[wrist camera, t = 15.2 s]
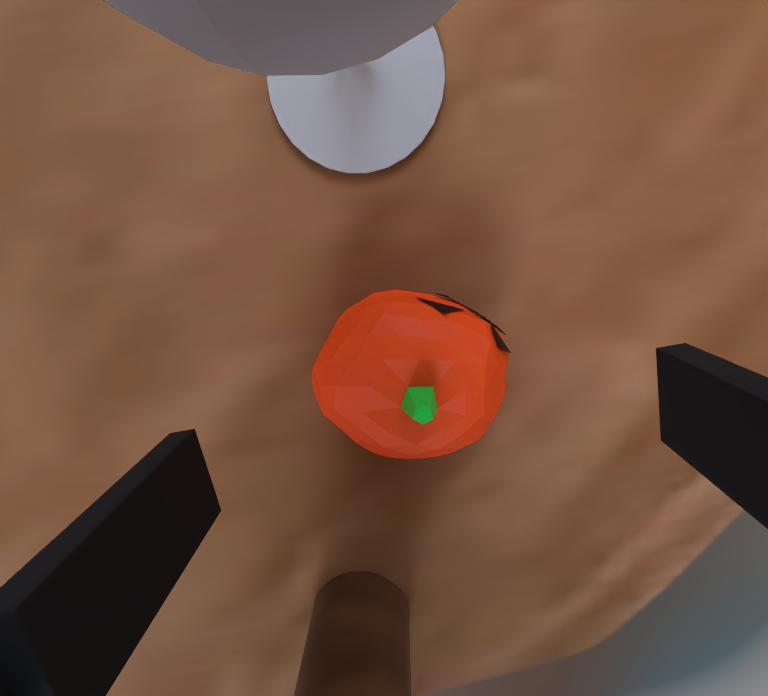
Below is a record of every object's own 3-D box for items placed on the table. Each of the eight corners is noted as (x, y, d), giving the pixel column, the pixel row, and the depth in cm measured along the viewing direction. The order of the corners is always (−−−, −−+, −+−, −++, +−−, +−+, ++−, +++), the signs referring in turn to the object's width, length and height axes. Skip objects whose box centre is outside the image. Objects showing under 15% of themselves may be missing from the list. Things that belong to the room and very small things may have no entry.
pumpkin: (321, 281, 21) (290, 303, 15) (499, 287, 21) (542, 312, 15) (322, 428, 23) (294, 502, 17) (485, 434, 23) (518, 512, 17)
